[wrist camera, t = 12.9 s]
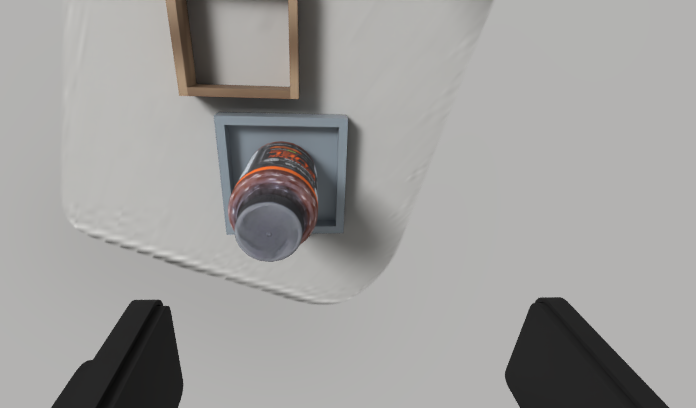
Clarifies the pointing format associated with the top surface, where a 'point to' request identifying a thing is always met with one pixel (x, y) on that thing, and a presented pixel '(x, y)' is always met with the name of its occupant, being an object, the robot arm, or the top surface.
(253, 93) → the holder
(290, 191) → the supplement bottle
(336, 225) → the tray
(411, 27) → the top surface
